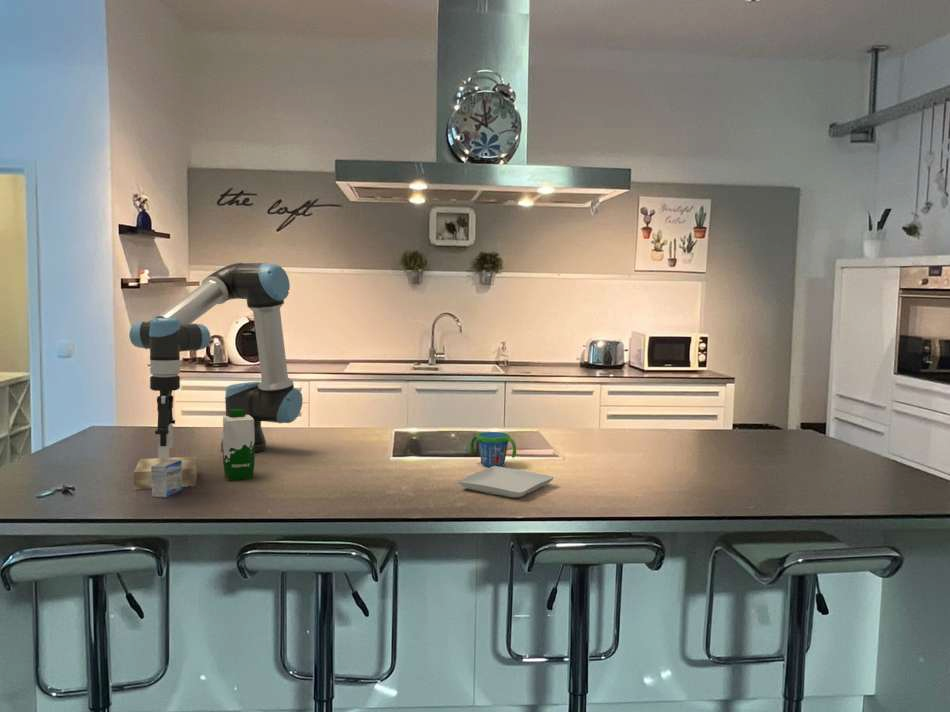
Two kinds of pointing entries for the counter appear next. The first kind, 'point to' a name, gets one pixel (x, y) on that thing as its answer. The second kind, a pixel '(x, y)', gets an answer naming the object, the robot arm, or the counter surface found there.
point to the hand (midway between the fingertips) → (165, 452)
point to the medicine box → (166, 478)
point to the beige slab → (144, 465)
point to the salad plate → (505, 481)
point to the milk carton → (238, 445)
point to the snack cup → (493, 448)
